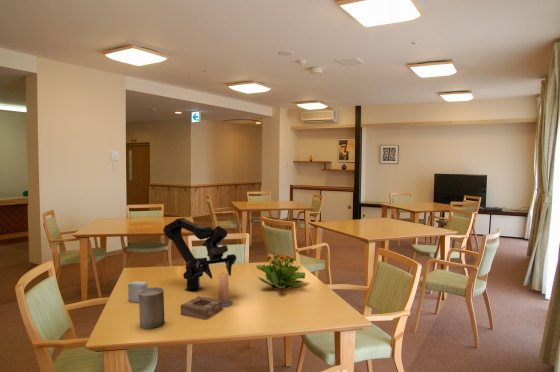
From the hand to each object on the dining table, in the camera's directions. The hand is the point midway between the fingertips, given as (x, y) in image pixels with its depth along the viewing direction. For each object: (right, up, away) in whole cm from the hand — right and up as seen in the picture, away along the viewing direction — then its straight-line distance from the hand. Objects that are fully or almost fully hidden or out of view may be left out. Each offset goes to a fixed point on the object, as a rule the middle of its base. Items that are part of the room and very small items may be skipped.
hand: (221, 277), depth 186 cm
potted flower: (+27, -11, +21) cm, 36 cm away
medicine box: (-40, -12, +3) cm, 42 cm away
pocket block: (-7, -13, -11) cm, 18 cm away
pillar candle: (-25, -14, -24) cm, 37 cm away
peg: (+1, -11, -2) cm, 12 cm away
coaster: (+1, -12, -2) cm, 12 cm away
